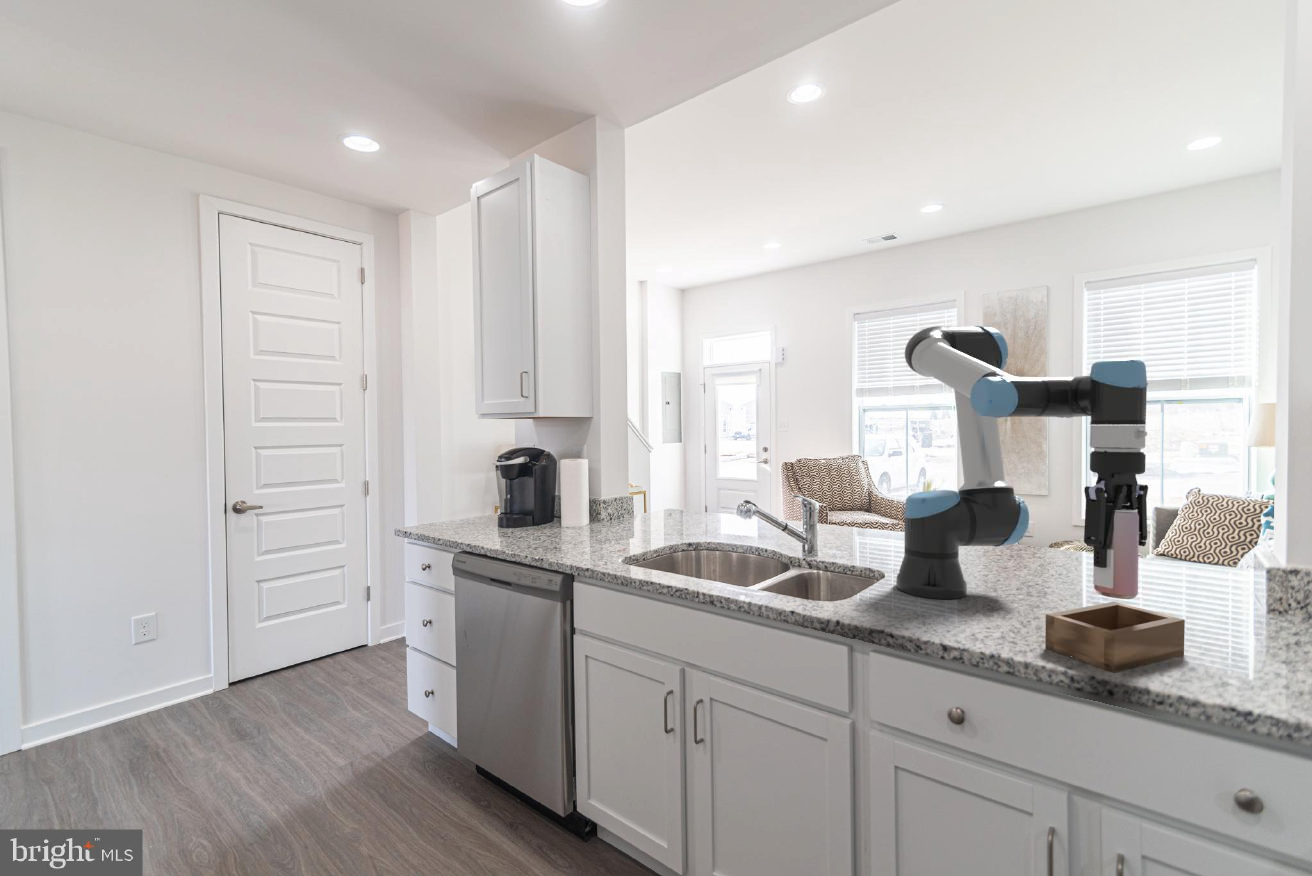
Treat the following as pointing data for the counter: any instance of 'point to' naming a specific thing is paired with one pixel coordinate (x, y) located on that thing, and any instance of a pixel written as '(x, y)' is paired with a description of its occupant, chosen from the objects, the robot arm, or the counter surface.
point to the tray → (1115, 635)
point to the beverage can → (1124, 556)
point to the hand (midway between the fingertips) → (1115, 583)
